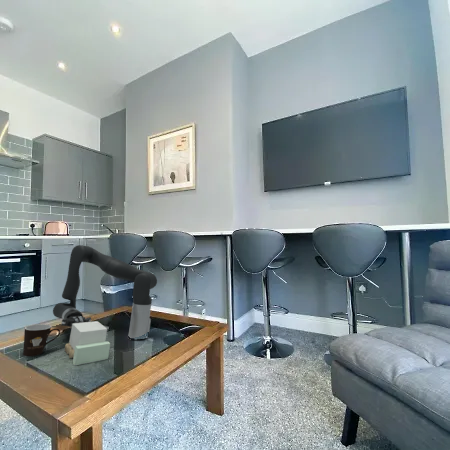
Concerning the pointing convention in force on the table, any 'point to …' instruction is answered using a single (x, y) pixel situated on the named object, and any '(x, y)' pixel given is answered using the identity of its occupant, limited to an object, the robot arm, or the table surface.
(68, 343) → the roller rear
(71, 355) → the roller front
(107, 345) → the block
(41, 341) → the coffee mug
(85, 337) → the white stacked block
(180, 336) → the table surface
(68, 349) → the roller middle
